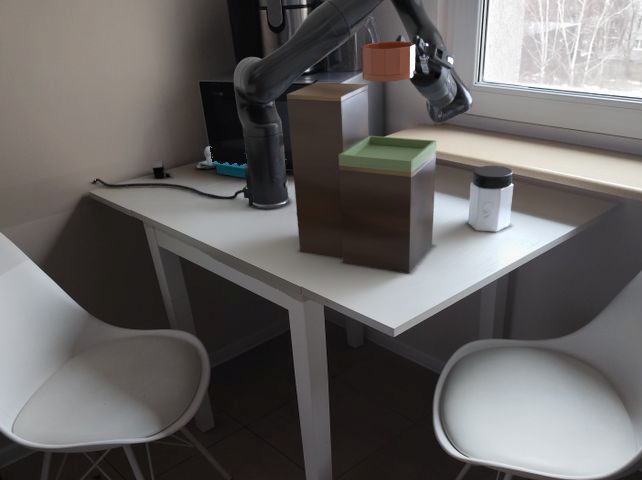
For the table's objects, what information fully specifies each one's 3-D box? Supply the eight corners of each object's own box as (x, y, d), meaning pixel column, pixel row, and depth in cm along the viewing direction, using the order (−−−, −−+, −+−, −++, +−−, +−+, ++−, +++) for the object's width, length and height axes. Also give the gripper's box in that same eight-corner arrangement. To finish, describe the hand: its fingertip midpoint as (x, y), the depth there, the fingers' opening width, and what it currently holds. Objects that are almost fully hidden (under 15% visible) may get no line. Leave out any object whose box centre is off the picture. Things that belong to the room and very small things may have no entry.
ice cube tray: (237, 162, 187) (235, 152, 186) (291, 170, 178) (290, 160, 176) (211, 173, 179) (209, 162, 178) (266, 182, 170) (265, 171, 168)
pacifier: (192, 169, 184) (206, 171, 181) (188, 147, 181) (202, 149, 177) (210, 162, 189) (224, 165, 185) (207, 141, 185) (220, 143, 182)
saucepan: (392, 62, 121) (392, 34, 118) (437, 63, 118) (438, 34, 115) (354, 80, 107) (353, 48, 105) (403, 82, 104) (403, 49, 101)
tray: (368, 145, 124) (368, 135, 123) (436, 151, 119) (436, 140, 118) (338, 165, 114) (338, 154, 112) (411, 172, 108) (411, 161, 107)
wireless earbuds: (154, 180, 176) (152, 168, 174) (155, 172, 182) (152, 161, 180) (171, 178, 177) (169, 166, 175) (171, 171, 183) (169, 160, 181)
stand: (325, 230, 139) (316, 82, 122) (432, 245, 129) (438, 87, 112) (295, 255, 128) (281, 96, 112) (409, 273, 119) (412, 103, 102)
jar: (465, 230, 135) (469, 175, 129) (470, 216, 142) (474, 164, 135) (507, 233, 133) (513, 177, 126) (510, 219, 139) (516, 166, 133)
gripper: (402, 57, 132) (375, 19, 116) (467, 58, 126) (447, 19, 110) (396, 93, 132) (368, 61, 116) (460, 96, 127) (439, 62, 111)
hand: (407, 40), depth 114 cm, fingers closed on saucepan, 2 cm apart
